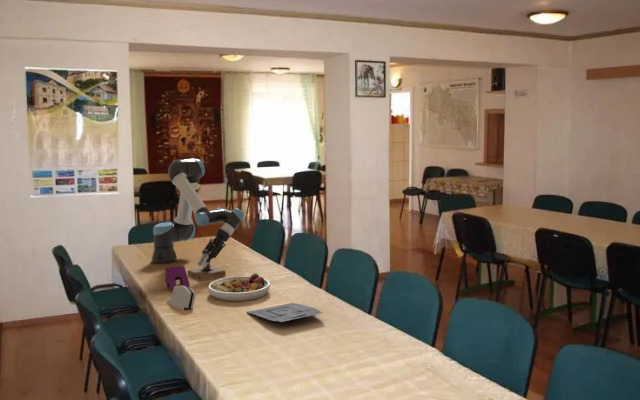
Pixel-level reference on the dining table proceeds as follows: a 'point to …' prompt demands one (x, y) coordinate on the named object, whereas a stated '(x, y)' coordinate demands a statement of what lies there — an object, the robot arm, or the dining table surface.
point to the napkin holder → (182, 297)
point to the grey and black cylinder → (205, 254)
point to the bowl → (239, 288)
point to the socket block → (206, 273)
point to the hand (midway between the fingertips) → (200, 265)
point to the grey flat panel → (285, 312)
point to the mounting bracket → (176, 276)
